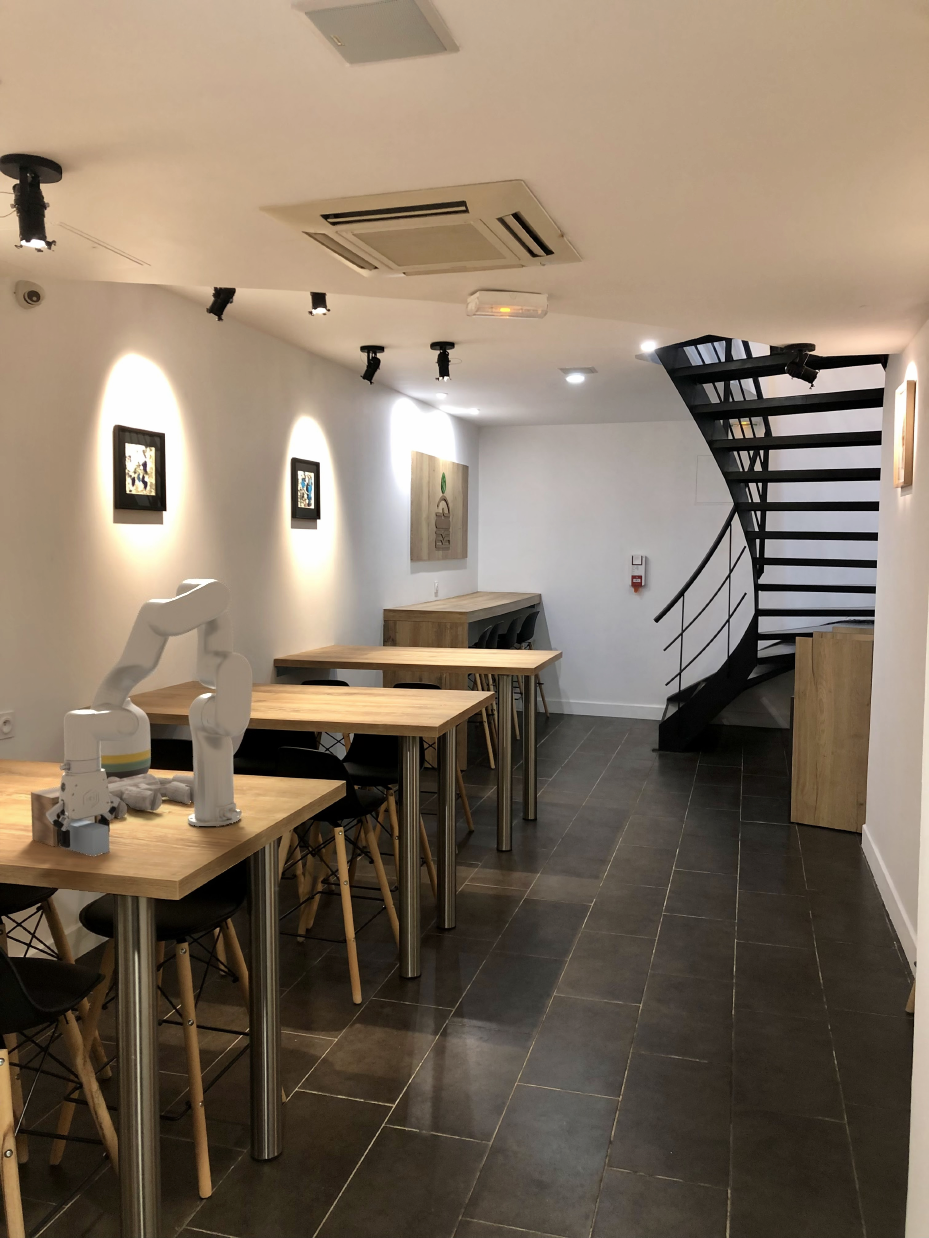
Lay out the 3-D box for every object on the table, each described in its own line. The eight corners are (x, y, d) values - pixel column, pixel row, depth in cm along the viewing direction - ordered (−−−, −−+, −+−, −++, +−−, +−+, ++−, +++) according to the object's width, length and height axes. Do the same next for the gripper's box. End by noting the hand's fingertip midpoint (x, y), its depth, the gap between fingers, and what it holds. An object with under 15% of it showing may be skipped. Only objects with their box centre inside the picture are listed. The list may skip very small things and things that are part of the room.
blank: (109, 852, 206) (108, 826, 206) (93, 857, 203) (92, 830, 203) (75, 842, 214) (74, 817, 213) (59, 847, 210) (58, 821, 210)
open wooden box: (101, 834, 220) (100, 787, 219) (53, 846, 210) (51, 797, 209) (80, 827, 225) (78, 782, 224) (32, 839, 216) (30, 792, 215)
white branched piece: (218, 798, 255) (148, 780, 272) (218, 773, 254) (147, 756, 271) (121, 830, 229) (49, 807, 246) (120, 802, 228) (48, 781, 245)
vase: (162, 778, 276) (160, 698, 274) (107, 789, 263) (105, 705, 261) (133, 770, 287) (131, 693, 285) (79, 780, 274) (77, 699, 273)
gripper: (55, 774, 198) (57, 854, 199) (127, 761, 212) (128, 835, 213) (36, 770, 202) (38, 848, 203) (108, 757, 216) (109, 830, 217)
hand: (84, 841), depth 208 cm, fingers open, 9 cm apart
